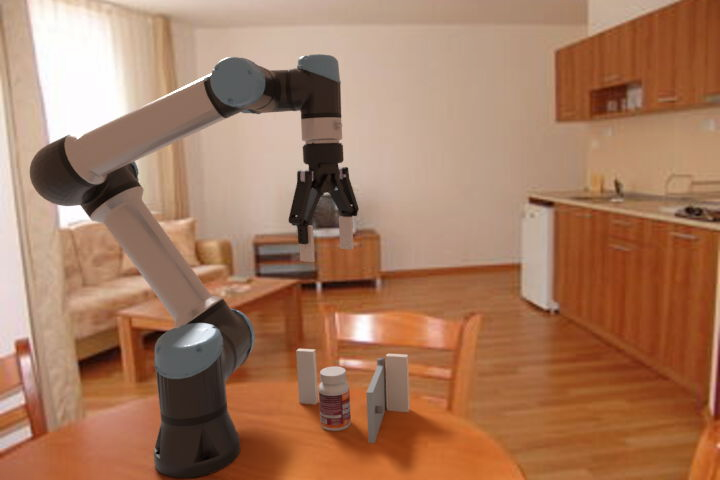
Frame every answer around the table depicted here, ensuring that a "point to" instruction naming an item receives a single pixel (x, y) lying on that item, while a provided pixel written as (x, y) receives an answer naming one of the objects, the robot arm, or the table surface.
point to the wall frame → (394, 374)
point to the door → (376, 400)
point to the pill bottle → (334, 399)
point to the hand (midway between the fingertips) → (328, 254)
